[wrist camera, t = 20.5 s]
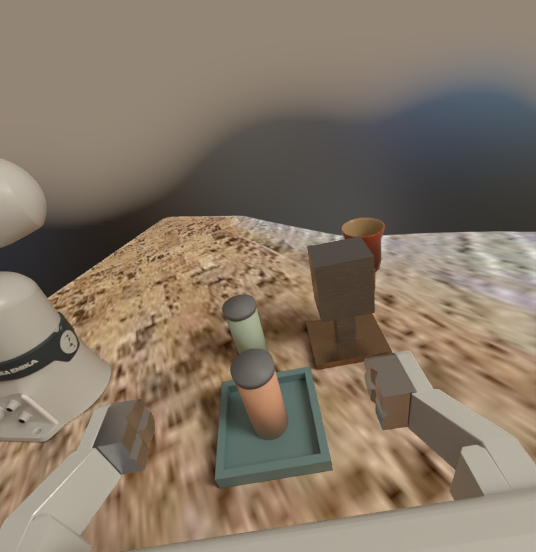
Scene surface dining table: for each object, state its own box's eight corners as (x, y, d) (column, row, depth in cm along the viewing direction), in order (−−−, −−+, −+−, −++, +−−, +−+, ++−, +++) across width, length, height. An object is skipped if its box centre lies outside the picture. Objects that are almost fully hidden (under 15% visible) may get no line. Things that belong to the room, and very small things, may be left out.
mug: (387, 277, 66) (387, 234, 61) (344, 280, 68) (341, 239, 63) (379, 249, 76) (380, 209, 70) (342, 252, 78) (340, 213, 72)
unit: (316, 369, 50) (302, 279, 41) (306, 327, 59) (292, 243, 49) (391, 356, 50) (395, 260, 40) (370, 315, 58) (369, 227, 48)
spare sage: (240, 371, 53) (221, 319, 47) (240, 348, 57) (223, 297, 51) (270, 366, 53) (255, 312, 46) (268, 343, 57) (254, 291, 51)
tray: (220, 488, 39) (214, 479, 37) (225, 391, 50) (221, 382, 49) (332, 470, 38) (331, 460, 37) (311, 376, 50) (310, 366, 48)
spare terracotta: (252, 443, 42) (229, 387, 35) (252, 408, 46) (231, 352, 39) (291, 437, 41) (275, 379, 35) (286, 402, 46) (271, 345, 39)
